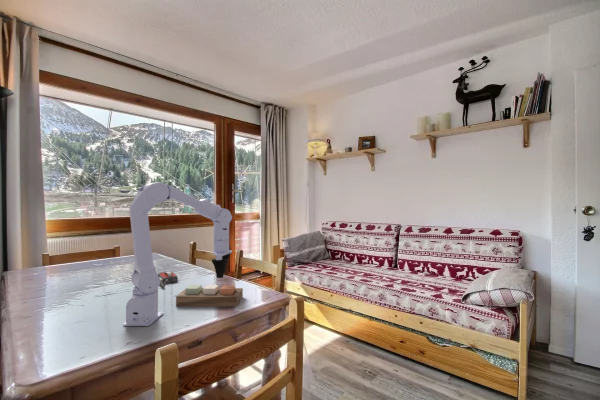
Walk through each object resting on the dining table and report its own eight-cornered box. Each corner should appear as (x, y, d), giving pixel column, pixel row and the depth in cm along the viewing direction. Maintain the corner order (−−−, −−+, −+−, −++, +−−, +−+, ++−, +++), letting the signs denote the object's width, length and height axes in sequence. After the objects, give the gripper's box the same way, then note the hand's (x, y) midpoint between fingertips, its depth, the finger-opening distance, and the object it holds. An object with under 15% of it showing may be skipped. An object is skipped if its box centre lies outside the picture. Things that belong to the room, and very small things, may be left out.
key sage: (197, 294, 105) (197, 288, 105) (185, 294, 106) (185, 288, 106) (201, 290, 110) (201, 284, 110) (190, 290, 110) (190, 284, 110)
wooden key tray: (236, 306, 103) (236, 296, 103) (176, 306, 103) (176, 296, 103) (242, 297, 113) (242, 288, 113) (187, 296, 113) (187, 287, 113)
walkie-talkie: (152, 279, 137) (161, 290, 121) (152, 270, 137) (161, 280, 121) (171, 276, 143) (182, 286, 127) (171, 267, 143) (182, 276, 127)
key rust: (232, 294, 105) (232, 288, 105) (220, 294, 105) (220, 288, 105) (235, 290, 110) (235, 285, 110) (223, 290, 110) (223, 285, 110)
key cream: (214, 294, 105) (214, 288, 105) (203, 294, 105) (203, 288, 105) (218, 290, 110) (218, 285, 110) (207, 290, 110) (207, 285, 110)
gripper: (230, 242, 103) (230, 279, 103) (233, 236, 117) (233, 269, 117) (210, 242, 102) (209, 280, 102) (215, 237, 116) (215, 270, 116)
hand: (221, 274), depth 109 cm, fingers open, 7 cm apart
